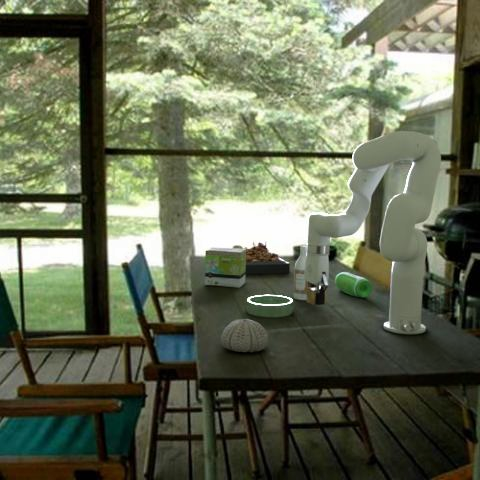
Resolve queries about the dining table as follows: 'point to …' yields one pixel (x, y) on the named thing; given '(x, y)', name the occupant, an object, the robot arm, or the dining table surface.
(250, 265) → the food platter
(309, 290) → the maple cube
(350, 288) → the speaker
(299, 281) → the bath foam
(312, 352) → the dining table surface
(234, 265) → the tea box
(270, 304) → the bowl
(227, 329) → the sea urchin shell
